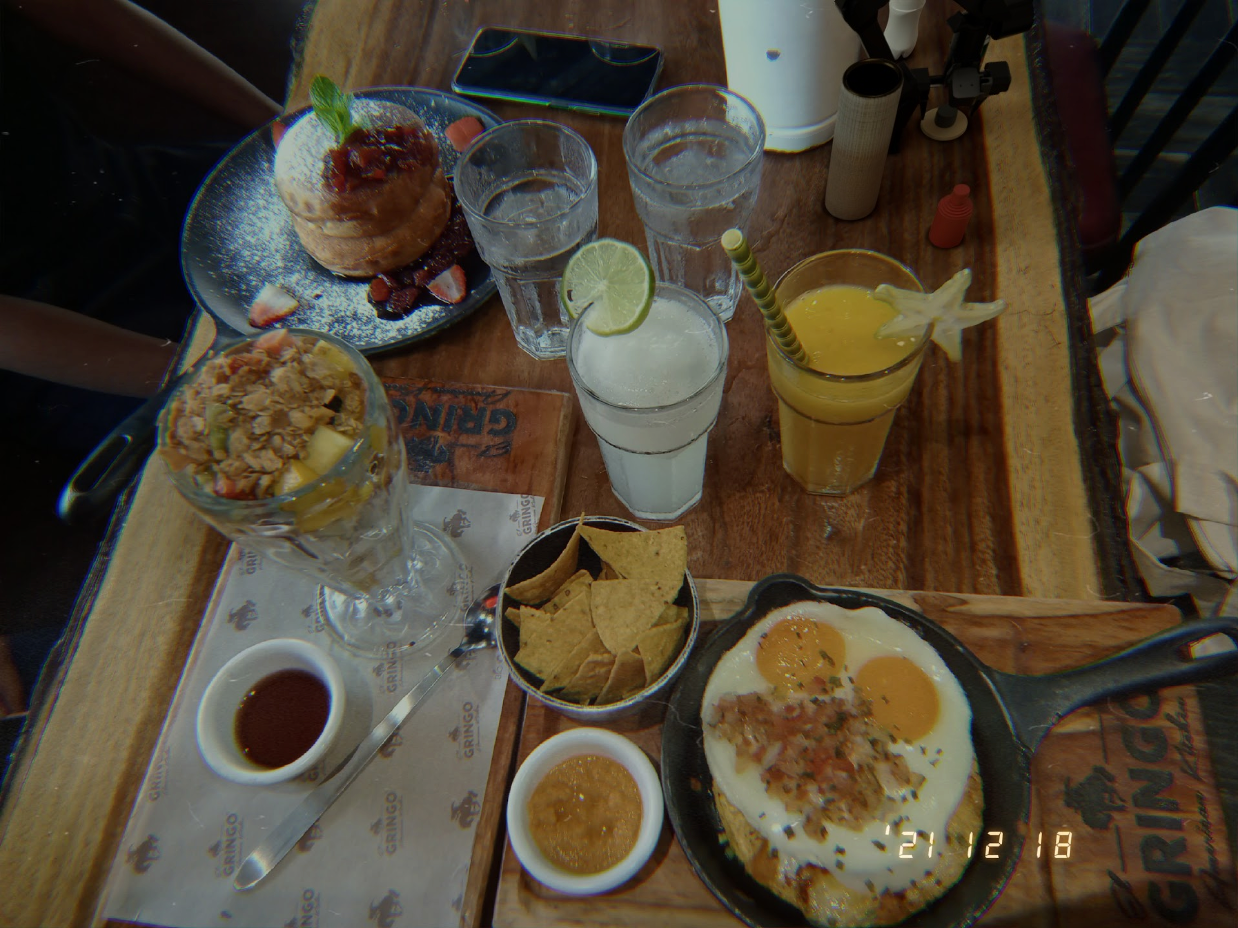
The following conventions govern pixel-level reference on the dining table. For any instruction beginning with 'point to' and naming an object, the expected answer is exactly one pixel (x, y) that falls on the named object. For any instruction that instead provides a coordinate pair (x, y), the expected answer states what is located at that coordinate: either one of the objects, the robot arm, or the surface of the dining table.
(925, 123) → the coaster
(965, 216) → the sauce bottle
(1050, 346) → the dining table surface
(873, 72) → the vase
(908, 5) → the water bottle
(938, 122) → the cap
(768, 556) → the dining table surface
